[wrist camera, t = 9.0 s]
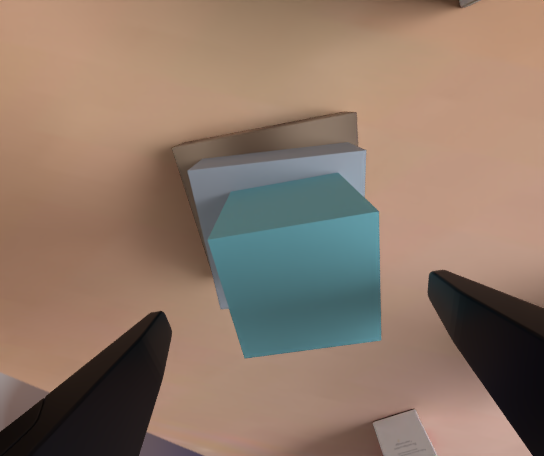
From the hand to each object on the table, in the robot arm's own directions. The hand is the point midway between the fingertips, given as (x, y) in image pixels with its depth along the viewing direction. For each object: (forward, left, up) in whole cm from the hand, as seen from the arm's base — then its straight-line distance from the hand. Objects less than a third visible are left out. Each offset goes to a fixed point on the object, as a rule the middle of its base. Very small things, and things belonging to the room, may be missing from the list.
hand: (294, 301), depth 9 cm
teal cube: (0, 0, -5) cm, 5 cm away
